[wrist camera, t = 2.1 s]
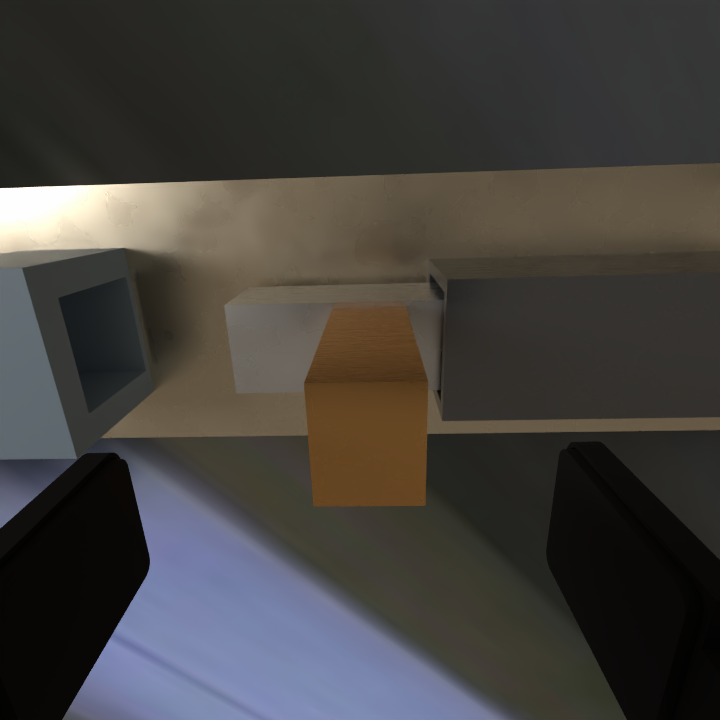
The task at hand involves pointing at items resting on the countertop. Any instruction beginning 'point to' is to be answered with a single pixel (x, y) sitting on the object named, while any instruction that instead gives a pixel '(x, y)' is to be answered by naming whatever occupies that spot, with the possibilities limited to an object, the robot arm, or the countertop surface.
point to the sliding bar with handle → (348, 379)
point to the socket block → (67, 350)
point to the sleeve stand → (423, 265)
